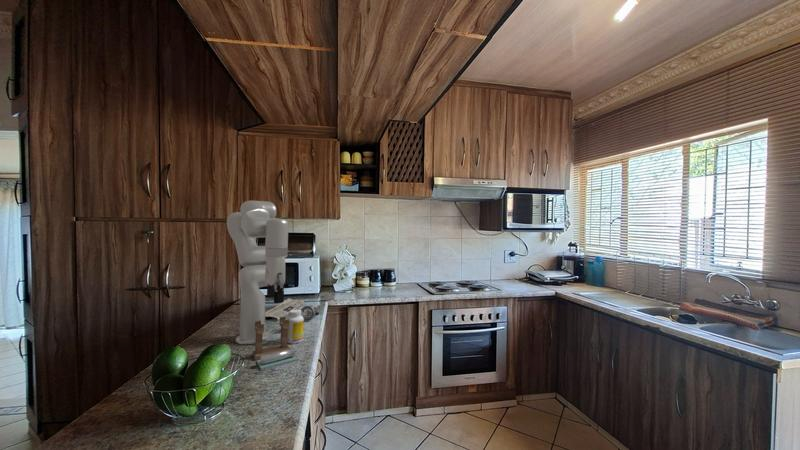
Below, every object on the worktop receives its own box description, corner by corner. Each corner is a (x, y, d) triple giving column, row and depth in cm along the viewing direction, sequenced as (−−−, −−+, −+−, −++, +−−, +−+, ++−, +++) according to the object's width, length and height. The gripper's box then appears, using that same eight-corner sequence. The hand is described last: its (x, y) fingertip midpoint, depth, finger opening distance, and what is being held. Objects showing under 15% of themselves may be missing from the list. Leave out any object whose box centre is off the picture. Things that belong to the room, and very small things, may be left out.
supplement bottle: (306, 339, 123) (306, 309, 123) (297, 345, 117) (297, 313, 117) (293, 337, 125) (293, 308, 125) (283, 343, 118) (283, 312, 119)
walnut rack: (252, 354, 107) (253, 321, 107) (285, 347, 115) (286, 316, 115) (255, 360, 102) (256, 325, 103) (290, 352, 110) (290, 319, 110)
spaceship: (279, 315, 131) (294, 309, 130) (312, 303, 165) (325, 299, 165) (284, 332, 130) (299, 326, 129) (316, 317, 164) (329, 312, 163)
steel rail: (261, 366, 98) (262, 360, 97) (259, 359, 100) (260, 353, 99) (293, 358, 105) (295, 352, 103) (291, 351, 107) (292, 346, 106)
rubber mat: (256, 362, 101) (256, 360, 101) (291, 353, 109) (291, 352, 109) (261, 370, 96) (261, 368, 96) (297, 360, 103) (297, 358, 103)
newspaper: (278, 321, 147) (278, 314, 148) (255, 320, 148) (255, 314, 148) (305, 304, 183) (305, 298, 183) (286, 303, 183) (286, 298, 184)
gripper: (259, 250, 108) (258, 295, 108) (271, 255, 95) (270, 307, 95) (280, 249, 113) (279, 292, 113) (294, 254, 99) (292, 303, 99)
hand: (275, 299), depth 104 cm, fingers open, 9 cm apart
